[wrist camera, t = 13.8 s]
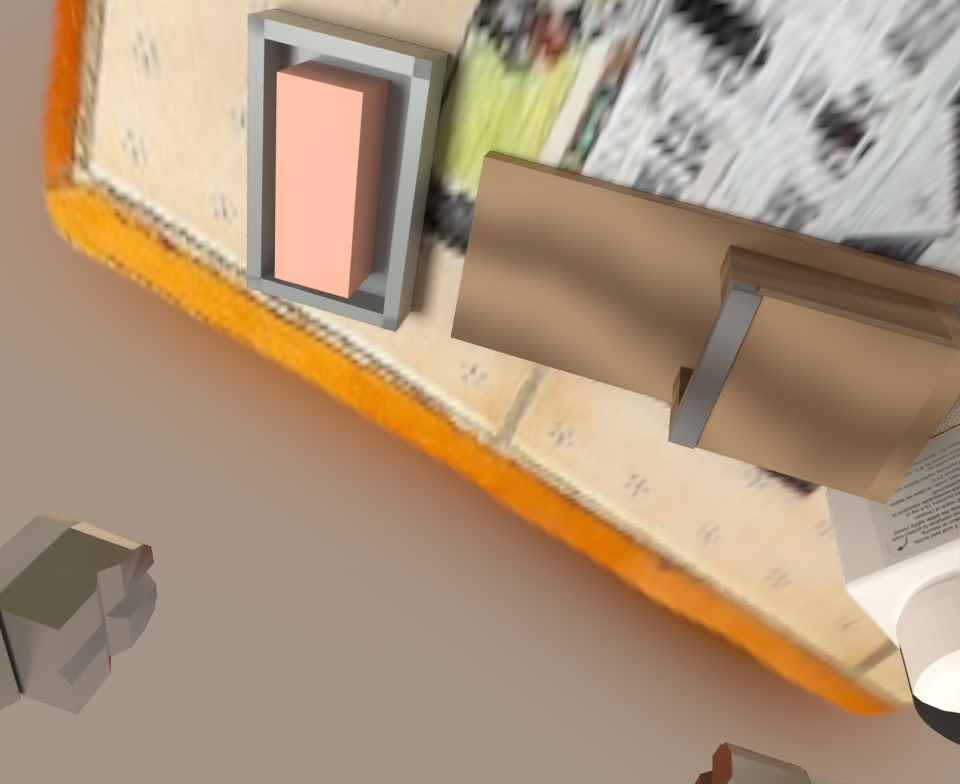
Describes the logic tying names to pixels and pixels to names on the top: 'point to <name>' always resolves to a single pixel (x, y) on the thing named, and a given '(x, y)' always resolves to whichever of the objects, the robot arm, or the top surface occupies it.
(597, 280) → the brown slab
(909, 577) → the container
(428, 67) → the tray
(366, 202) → the salmon pink rectangular prism
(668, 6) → the top surface
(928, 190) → the top surface
